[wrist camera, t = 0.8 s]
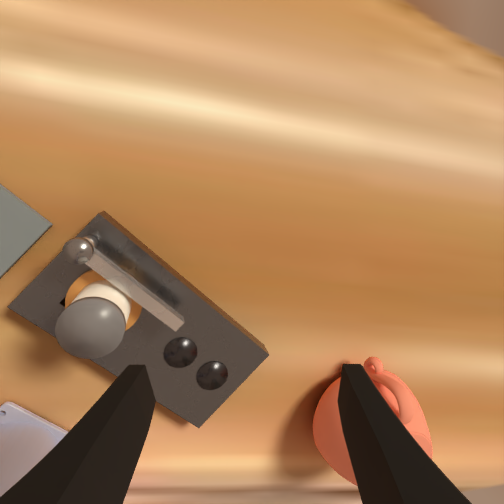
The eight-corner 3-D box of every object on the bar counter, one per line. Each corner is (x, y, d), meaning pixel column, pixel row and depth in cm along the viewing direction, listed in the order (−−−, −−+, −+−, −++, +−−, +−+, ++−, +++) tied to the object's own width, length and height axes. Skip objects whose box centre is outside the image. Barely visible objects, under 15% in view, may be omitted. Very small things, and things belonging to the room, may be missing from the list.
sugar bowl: (299, 453, 37) (344, 550, 27) (310, 348, 34) (366, 415, 24) (386, 437, 40) (454, 519, 30) (403, 339, 37) (486, 396, 27)
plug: (115, 331, 28) (96, 383, 21) (61, 294, 26) (20, 337, 19) (158, 287, 28) (154, 324, 21) (107, 247, 26) (83, 272, 19)
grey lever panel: (197, 413, 32) (198, 429, 30) (19, 297, 25) (6, 307, 23) (263, 344, 32) (269, 355, 30) (104, 210, 25) (98, 213, 23)
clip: (172, 320, 27) (172, 338, 24) (71, 243, 23) (56, 252, 20) (186, 305, 27) (188, 321, 24) (87, 226, 23) (75, 233, 20)
